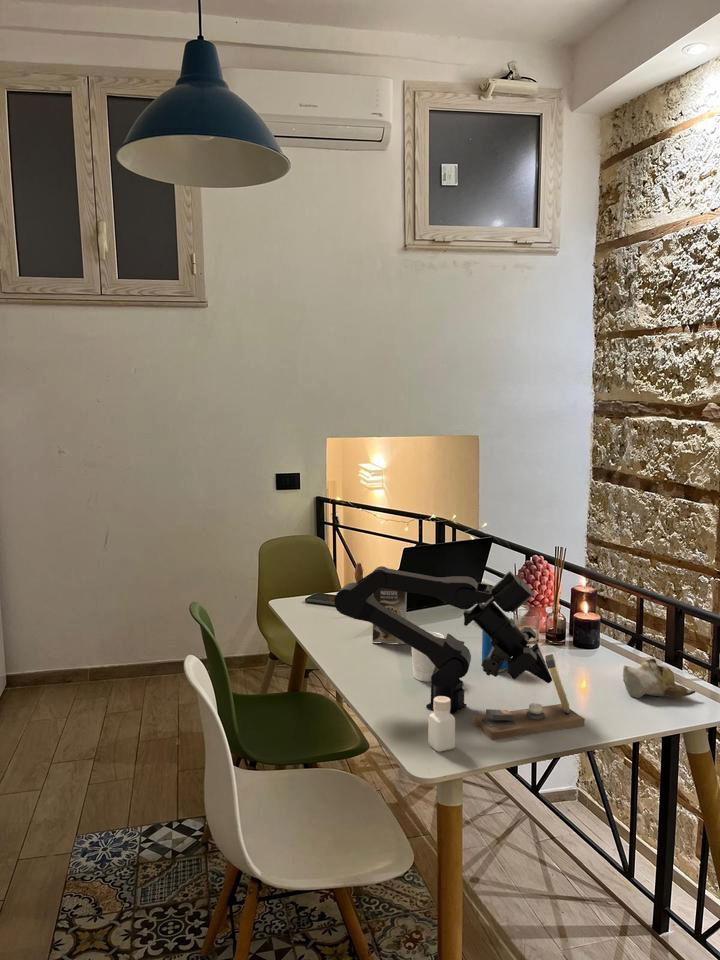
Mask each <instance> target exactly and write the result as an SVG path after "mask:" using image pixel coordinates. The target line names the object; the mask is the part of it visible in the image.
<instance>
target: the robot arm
mask: <svg viewBox="0 0 720 960" xmlns="http://www.w3.org/2000/svg"><path fill="white" fill-rule="evenodd" d="M380 588H387V589H393V590H398V591H403V592H407V593H409V594H414V595H419V596H424V597H431V598H435V599H437V600H440V602H443V603H445V604H446V605H449V606H452V607H455V608H457V609H460V610H464V611H463V617H464V621H463V626H464V627H467V626H468V625H469V624H471V623H472V622H474V623H475V624H476V625H477V626H478V627H479V628H480V629H481V630H483V631H484V632H485V633H486V634H487V635H488V636H489V637H490V638H491V645H492V646H493V647H492V649H491V651H490V653H489V655H488V657H485V658H484V661H483V662H482V661H481V667H482V671H483V672H485V674H486V675H487V676H492V677H495V678H497V676H498V675H499V672H498V671H499V669H500V668H501V666H502V664H503V662H504V660H505V661H506V662H507V661H508V664H507V668H506V669H507V670H506V674H508V675H509V677H510V678H512V680H516V679H518V678H519V676H521V675H522V674H523V673H525V672H529V673H531V674H532V675H534V676H536V677H537V678H538V679H540V680H542V681H544V682H545V683H547V684H550V683H551V682H552V681H553V678H552V675H551V673H550V670H549V669H548V667H547V664H546V660H545V658H544V656H543V653H542V651H541V649H540V645H539V643H538V642H536V643H535V644H534V645H533V646H532V645H531V644H529V641H530V640H531V639H532V638H533V639H536V638H537V633H536V631H534V629H533V628H532V627H528V626H524V627H522V628H521V629H519V627H518V626H517V625H516V624H515V622H516V621H515V620H514V619H513V618H512V617H511V618H509V616H507V615H506V614H505V613H510V612H511V613H515V612H516V611H517V610H519V608H520V607H522V606H523V605H524V604H525V603H526V602H527V601H529V600H530V599H531V598H532V597H533V596H534V592H533V591H532V590H531V588H530V587H529V585H527V583H526V582H525V581H524V580H523V579H521V578H519V577H518V576H517V575H515V574H514V573H513V572H512V571H508V572H507V573H505V575H504V576H503V577H502V578H501V579H500V580H499V581H498V582H497V583H496V584H495V585H492V584H487V583H483V582H482V583H481V582H477V581H476V579H475V578H473V577H470V576H468V575H467V576H460V575H458V576H455V575H454V576H453V575H452V576H445V577H442V576H441V577H438V576H437V577H436V576H432V575H426V574H421V573H416V572H409V571H403V570H398V569H392V568H388V567H386V566H384V565H383V566H377V567H376V568H375V569H373V571H372V572H370V573H369V574H367V575H365V576H363V578H362V579H361V580H360V581H359V582H357V583H356V582H349V583H347V584H345V585H344V586H343V587H341V588H340V590H339V591H338V592H336V595H335V597H334V600H333V602H334V606H335V607H334V608H335V610H336V611H337V612H338V613H340V614H341V615H344V616H345V617H349V618H351V619H353V620H358V621H363V622H368V623H371V624H372V625H373V624H374V625H376V626H377V627H379V628H381V629H382V630H384V631H386V632H387V633H389V634H391V635H393V636H394V637H396V638H398V639H399V640H401V641H403V642H404V643H405V644H406V645H408V646H409V647H411V648H412V647H413V648H415V649H416V650H418V651H420V652H421V653H423V654H425V655H426V656H427V657H428V658H429V659H430V660H431V662H432V663H433V664H434V665H435V668H434V671H433V673H432V676H431V682H430V702H429V703H427V704H426V708H427V709H429V710H433V711H434V708H433V702H434V698H435V697H437V696H445V697H448V698H450V700H451V703H450V704H451V705H450V714H451V715H452V716H453V715H454V714H456V713H458V712H459V711H461V710H463V709H465V708H467V704H466V703H465V688H464V681H463V680H461V679H462V678H463V677H465V676H466V675H467V673H468V672H469V668H470V665H471V661H472V653H471V651H470V649H469V648H468V646H466V645H465V641H463V640H459V639H458V638H455V637H454V636H453V635H452V634H450V633H447V634H446V637H444V638H439V637H436V636H434V635H432V634H430V633H429V632H430V631H426V630H425V629H423V628H421V627H420V626H418V625H416V624H415V623H413V622H411V621H410V620H408V619H407V618H406V619H405V618H403V617H401V616H399V615H398V614H396V613H394V612H393V611H391V610H389V609H387V608H386V607H384V606H382V605H381V604H380V603H379V602H378V601H377V600H376V599H375V598H374V596H373V593H374V592H376V591H377V590H379V589H380Z"/></svg>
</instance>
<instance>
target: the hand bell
mask: <svg viewBox="0 0 720 960" xmlns="http://www.w3.org/2000/svg"><path fill="white" fill-rule="evenodd" d="M363 578H364V570H363V567H362V562H357V563H356V566H355V569H354V579H355V583H357V582H359V581H360V580H361V579H363Z"/></svg>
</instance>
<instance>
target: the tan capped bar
mask: <svg viewBox="0 0 720 960" xmlns="http://www.w3.org/2000/svg"><path fill="white" fill-rule="evenodd" d="M544 661H545V663H546V665H547V668H548V670H549V673H550V675H551V678H552V681H553V684H554V687H555V690H556V692H557V697H558V698H559V701H560V704H562V707H563V710H564V712H565V714H566V715H569V714H570V709H571V708H570V703H569V700H568V698H567V694H566V691H565V688H564V686H563V683H562V680H561V677H560V674H559V671H558V668H557V666H556V660H555V657H554V653H551V654H547V655H545V658H544Z"/></svg>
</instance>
